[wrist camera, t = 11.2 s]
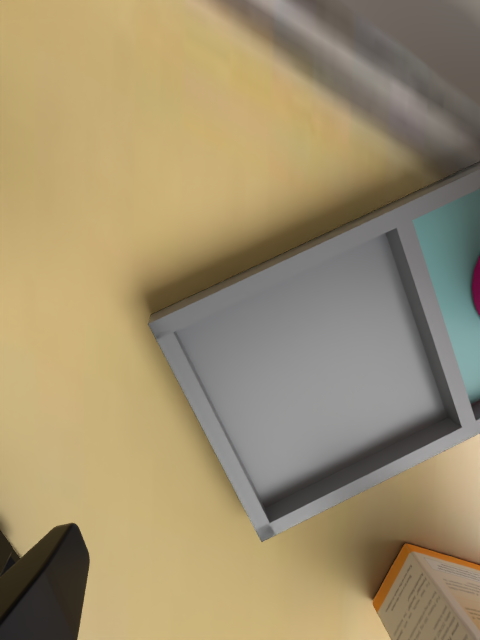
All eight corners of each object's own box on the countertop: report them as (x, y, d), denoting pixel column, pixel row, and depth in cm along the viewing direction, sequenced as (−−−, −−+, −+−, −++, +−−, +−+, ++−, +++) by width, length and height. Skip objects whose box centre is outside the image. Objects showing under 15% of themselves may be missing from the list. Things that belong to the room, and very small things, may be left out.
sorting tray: (254, 516, 23) (261, 542, 21) (150, 314, 20) (148, 323, 18) (634, 327, 25) (673, 336, 23) (593, 108, 21) (635, 96, 19)
